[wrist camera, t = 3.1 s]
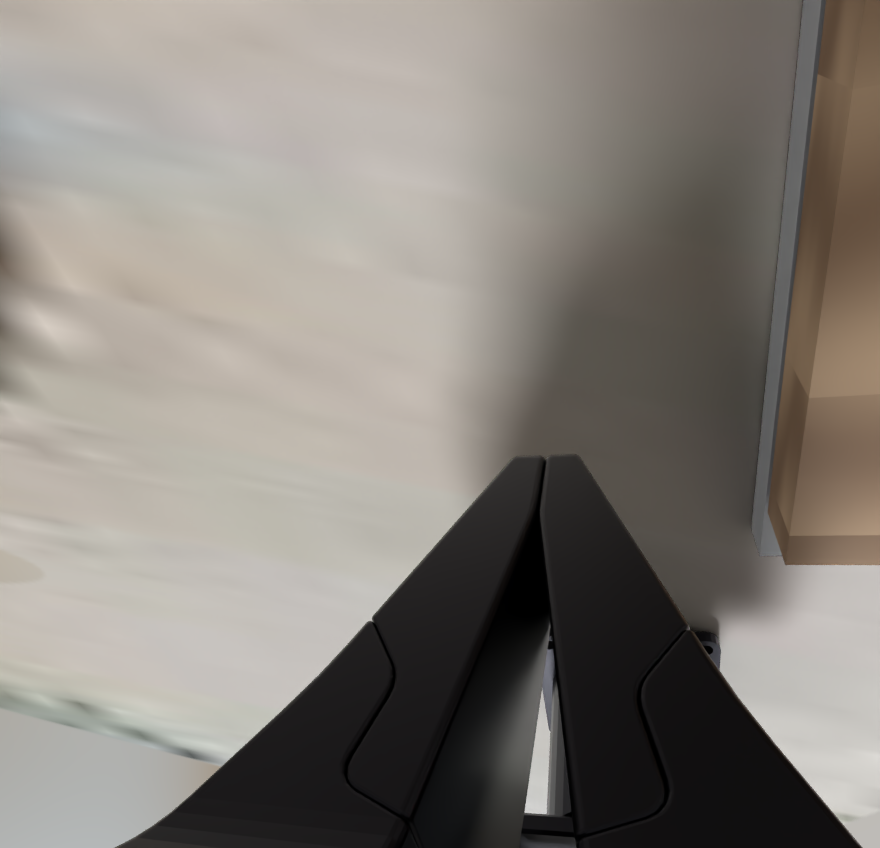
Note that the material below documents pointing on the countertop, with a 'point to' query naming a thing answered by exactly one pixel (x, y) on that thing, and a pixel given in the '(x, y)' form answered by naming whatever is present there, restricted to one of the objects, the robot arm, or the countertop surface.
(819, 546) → the panel
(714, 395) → the countertop surface
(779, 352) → the boss board
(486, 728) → the robot arm
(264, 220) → the countertop surface
